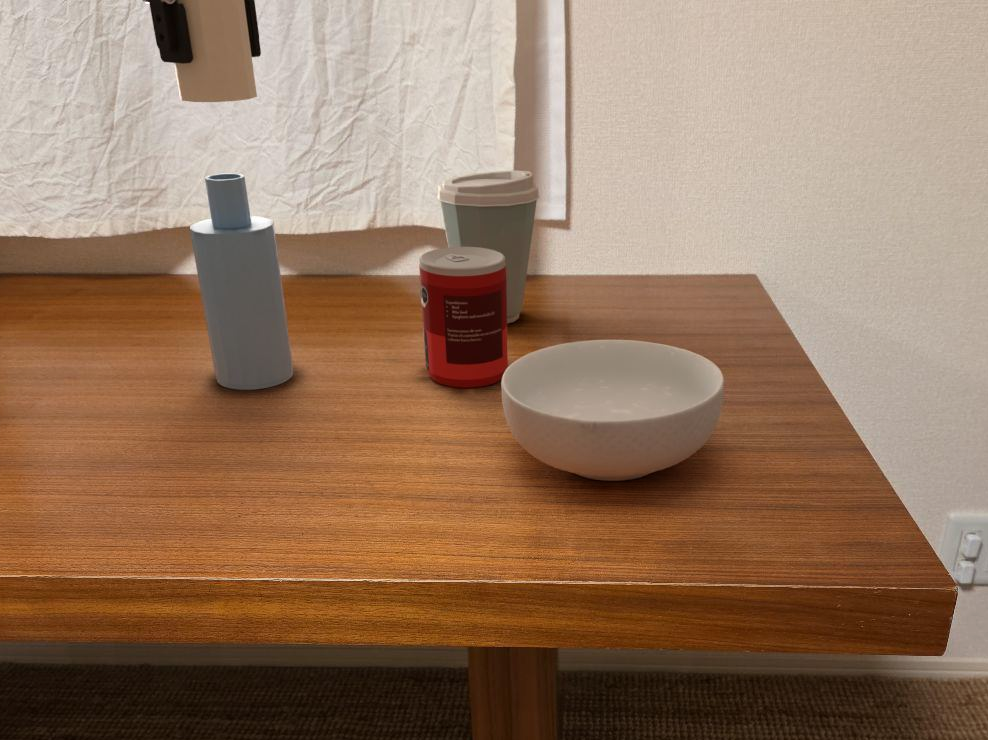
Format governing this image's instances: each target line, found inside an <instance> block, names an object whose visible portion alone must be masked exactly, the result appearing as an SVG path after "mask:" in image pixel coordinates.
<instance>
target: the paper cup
mask: <svg viewBox="0 0 988 740" xmlns="http://www.w3.org/2000/svg"><path fill="white" fill-rule="evenodd" d="M176 3H180V4H183V6H184V7H185V10H186V17H187V23H188V29H189V35H190V41H191V48H192V54H193V60H192V62H191V63H186V64H182V63H173V66H174V72H175V73H174V74H175V78H176V84H177V90H178V95H179V99H180V100H181V101H182V102H190V103H192V102H193V103H225V102H226V103H227V102H228V103H229V102H236V101H237V102H238V101H247V100H252V99H254V98H257V97H258V93H257V87H256V80H255V70H254V63H253V57H252V56H251V48H250V41H249V33H248V26H247V18H246V11H245V3H244V0H176Z"/></svg>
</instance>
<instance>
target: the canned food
mask: <svg viewBox="0 0 988 740" xmlns="http://www.w3.org/2000/svg"><path fill="white" fill-rule="evenodd" d="M418 267H419V269H418V270H419V286H420V287H419V288H420V300H421V317H422V329H423V343H424V344H423V345H424V356H425V359H424V360H425V367H426V370H427V374H428V376H429V378H430V379H431V380H433V381H434V382H436V383H437V384H440V385H443V386H447V387H453V388H459V389H460V388H462V389H463V388H464V389H471V388H483V387H486V386H490V385H493V384H496V383H498V382H500V381H502V376H503V374H504V372H505V371H506V369H507V368H508V367H509V349H508V344H509V343H508V323H507V284H506V262H505V256H504V255H503V254H501V253H500V252H497V251H495V250H491V249H486V248H479V247H449V248H448V247H442V248H437V249H433V250H429V251H427V252H425V253H423V254H421V256H419V264H418Z"/></svg>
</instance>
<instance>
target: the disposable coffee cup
mask: <svg viewBox="0 0 988 740" xmlns="http://www.w3.org/2000/svg"><path fill="white" fill-rule="evenodd" d="M437 188H438V189H437V195H436V196H437V200H438V201H439V202H440V208H441V214H442V219H443V225H444V230H445V231H444V232H445V236H446V242H447V248H449V247H479V248H486V249H491V250H495V251H497V252H500V253H501V254H503V255H504V256H505V262H506V284H507V324H511V323H514V322H516V321H517V320H518V319H520V314H521V312H522V311H523V306H524V305H523V304H524V297H525V291H526V283H527V277H528V276H527V275H528V268H529V267H528V266H529V260H530V252H531V246H532V237H533V231H534V230H533V229H534V223H535V217H536V208H537V201H538V200H539V199H540V196H539V187H538V186H537V185H536V183H534V174H533V173H532V172H531V171H529V170H497V171H496V170H494V171H486V172H485V171H484V172H475V173H469V174H468V173H467V174H462V175H457V176H453V177H449V178H447V179H444V180H442V184H439V186H437Z"/></svg>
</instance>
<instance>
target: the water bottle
mask: <svg viewBox="0 0 988 740" xmlns="http://www.w3.org/2000/svg"><path fill="white" fill-rule="evenodd" d="M204 183H205V189H206V194H207V200H208V208H209V213H210V218H207V219H203V220H199V221H197V222H194V223H192V224H191V225H190V227H189V233H190V239H191V244H192V250H193V256H194V261H195V267H196V268H195V269H196V272H197V273H196V274H197V279H198V283H199V291H200V296H201V301H202V307H203V312H204V318H205V325H206V330H207V335H208V336H207V337H208V341H209V348H210V352H211V360H212V364H213V369H214V375H215V378H216V382H217V383H218V384H219V385H220V386H222V387H223V388H226V389H231V390H240V391H241V390H242V391H252V390H261V389H267V388H272V387H276V386H278V385H281V384H284V383H285V382H287V381H289V380H290V379H292V377H293V375H294V365H293V364H294V363H293V356H292V349H291V342H290V335H289V327H288V319H287V312H286V311H287V310H286V304H285V298H284V297H285V296H284V289H283V281H282V275H281V268H280V259H279V253H278V245H277V238H276V237H277V236H276V230H275V222H274V221H273V220H272V219H270V218H269V217H263V216H258V215H251V212H250V204H249V198H248V192H247V185H246V184H247V183H246V176H245V175H244V174H241V173H234V172H231V173H229V172H228V173H227V172H225V173H215V174H210V175H207V176H204Z"/></svg>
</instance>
